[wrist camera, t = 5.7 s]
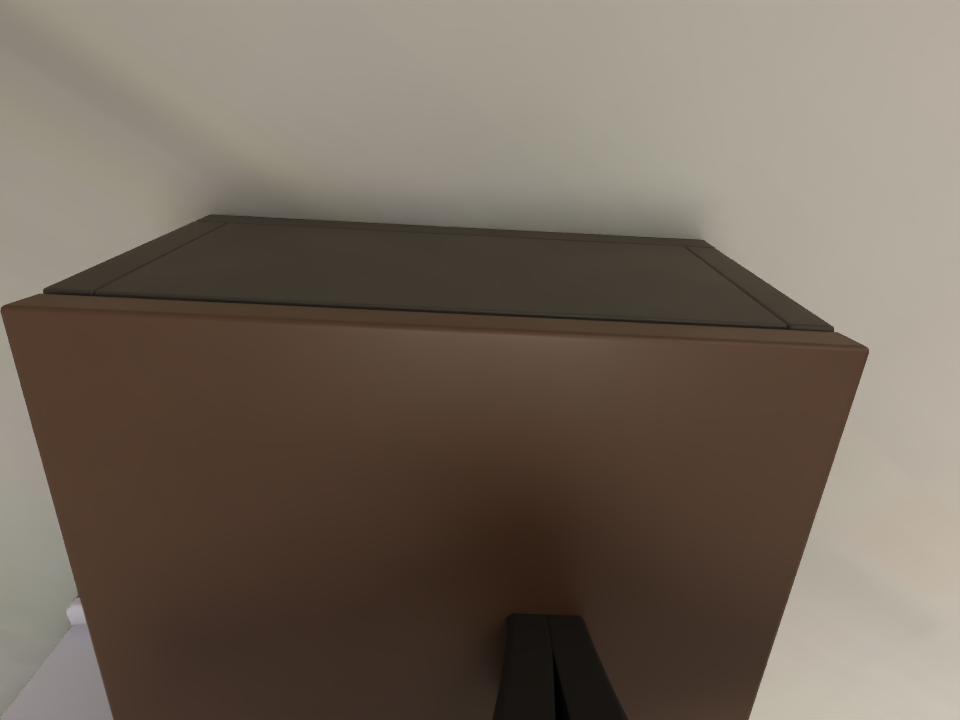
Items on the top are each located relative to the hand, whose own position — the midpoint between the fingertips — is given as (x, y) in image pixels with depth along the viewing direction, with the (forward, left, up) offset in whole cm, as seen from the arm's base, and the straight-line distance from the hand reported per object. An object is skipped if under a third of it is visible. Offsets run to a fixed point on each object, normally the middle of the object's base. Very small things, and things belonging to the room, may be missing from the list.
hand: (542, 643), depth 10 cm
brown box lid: (-2, -1, 0) cm, 2 cm away
